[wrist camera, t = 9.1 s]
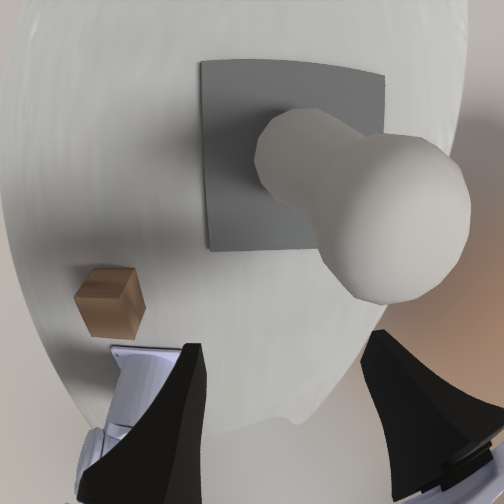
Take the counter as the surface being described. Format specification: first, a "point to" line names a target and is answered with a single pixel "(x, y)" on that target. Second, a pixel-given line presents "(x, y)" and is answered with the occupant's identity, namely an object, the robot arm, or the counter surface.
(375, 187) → the salt shaker
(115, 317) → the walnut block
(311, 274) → the counter surface
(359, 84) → the rubber mat
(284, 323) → the counter surface
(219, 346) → the counter surface
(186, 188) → the counter surface
